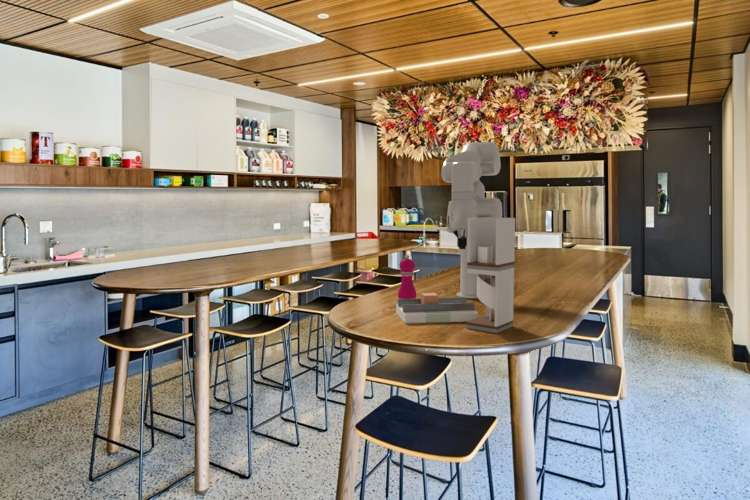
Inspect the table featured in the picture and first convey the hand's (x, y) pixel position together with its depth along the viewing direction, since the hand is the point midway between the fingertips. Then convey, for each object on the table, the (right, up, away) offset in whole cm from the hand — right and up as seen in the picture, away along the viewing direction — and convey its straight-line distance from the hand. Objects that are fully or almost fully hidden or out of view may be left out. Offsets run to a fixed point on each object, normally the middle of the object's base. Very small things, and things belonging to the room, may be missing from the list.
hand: (461, 248), depth 189 cm
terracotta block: (-12, -21, -4) cm, 24 cm away
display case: (+6, -26, -19) cm, 32 cm away
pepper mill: (-19, -22, +15) cm, 33 cm away
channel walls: (-10, -21, -3) cm, 23 cm away
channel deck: (-10, -24, -3) cm, 26 cm away
